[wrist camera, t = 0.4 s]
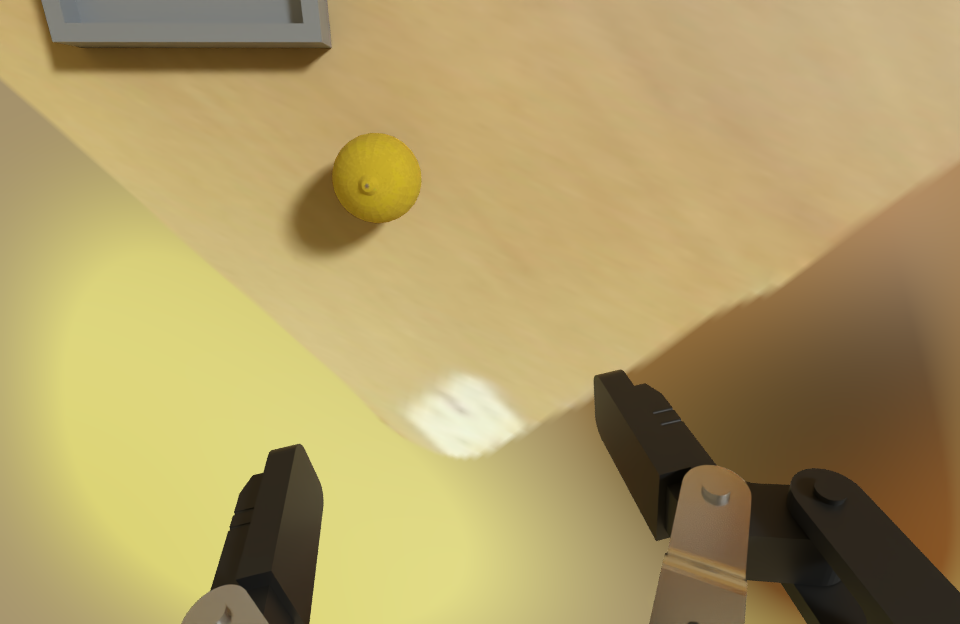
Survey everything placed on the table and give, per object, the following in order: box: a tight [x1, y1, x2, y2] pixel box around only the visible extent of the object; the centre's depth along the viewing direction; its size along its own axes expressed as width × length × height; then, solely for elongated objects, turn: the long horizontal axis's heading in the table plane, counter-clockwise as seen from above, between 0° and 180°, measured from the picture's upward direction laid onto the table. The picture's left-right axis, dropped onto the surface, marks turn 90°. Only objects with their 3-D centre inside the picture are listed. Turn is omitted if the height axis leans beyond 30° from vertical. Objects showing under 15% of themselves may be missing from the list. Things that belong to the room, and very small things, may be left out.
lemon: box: [332, 133, 421, 223], centre depth 32 cm, size 6×6×8 cm
